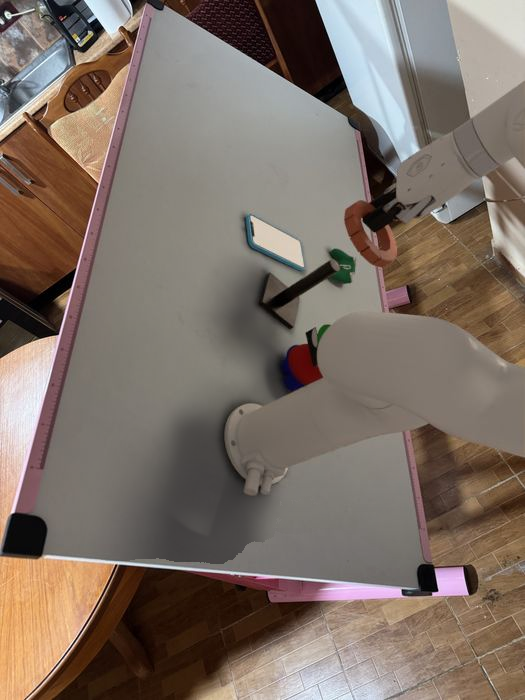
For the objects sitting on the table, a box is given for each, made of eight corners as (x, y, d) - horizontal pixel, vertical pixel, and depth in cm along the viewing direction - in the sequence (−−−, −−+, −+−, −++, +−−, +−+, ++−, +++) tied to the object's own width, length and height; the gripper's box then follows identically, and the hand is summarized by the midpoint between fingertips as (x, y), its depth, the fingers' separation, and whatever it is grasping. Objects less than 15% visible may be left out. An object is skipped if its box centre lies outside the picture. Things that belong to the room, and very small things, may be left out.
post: (290, 329, 102) (348, 295, 94) (258, 304, 99) (316, 265, 90) (296, 299, 108) (352, 264, 99) (266, 274, 104) (321, 235, 95)
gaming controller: (323, 285, 120) (351, 289, 119) (325, 271, 117) (353, 275, 116) (330, 260, 126) (357, 263, 125) (331, 246, 124) (358, 249, 123)
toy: (303, 407, 96) (372, 376, 86) (266, 388, 91) (335, 353, 82) (304, 364, 101) (369, 330, 92) (269, 343, 97) (334, 305, 87)
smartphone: (306, 270, 113) (252, 243, 103) (301, 273, 113) (247, 247, 103) (301, 240, 116) (248, 211, 106) (296, 243, 117) (243, 215, 107)
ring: (387, 279, 85) (396, 274, 84) (341, 237, 80) (351, 231, 79) (388, 235, 91) (397, 230, 90) (346, 194, 86) (355, 188, 85)
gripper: (456, 101, 80) (356, 176, 92) (462, 162, 70) (348, 237, 81) (485, 138, 83) (384, 205, 95) (494, 201, 73) (381, 268, 85)
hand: (369, 219), depth 88 cm, fingers closed on ring, 2 cm apart
